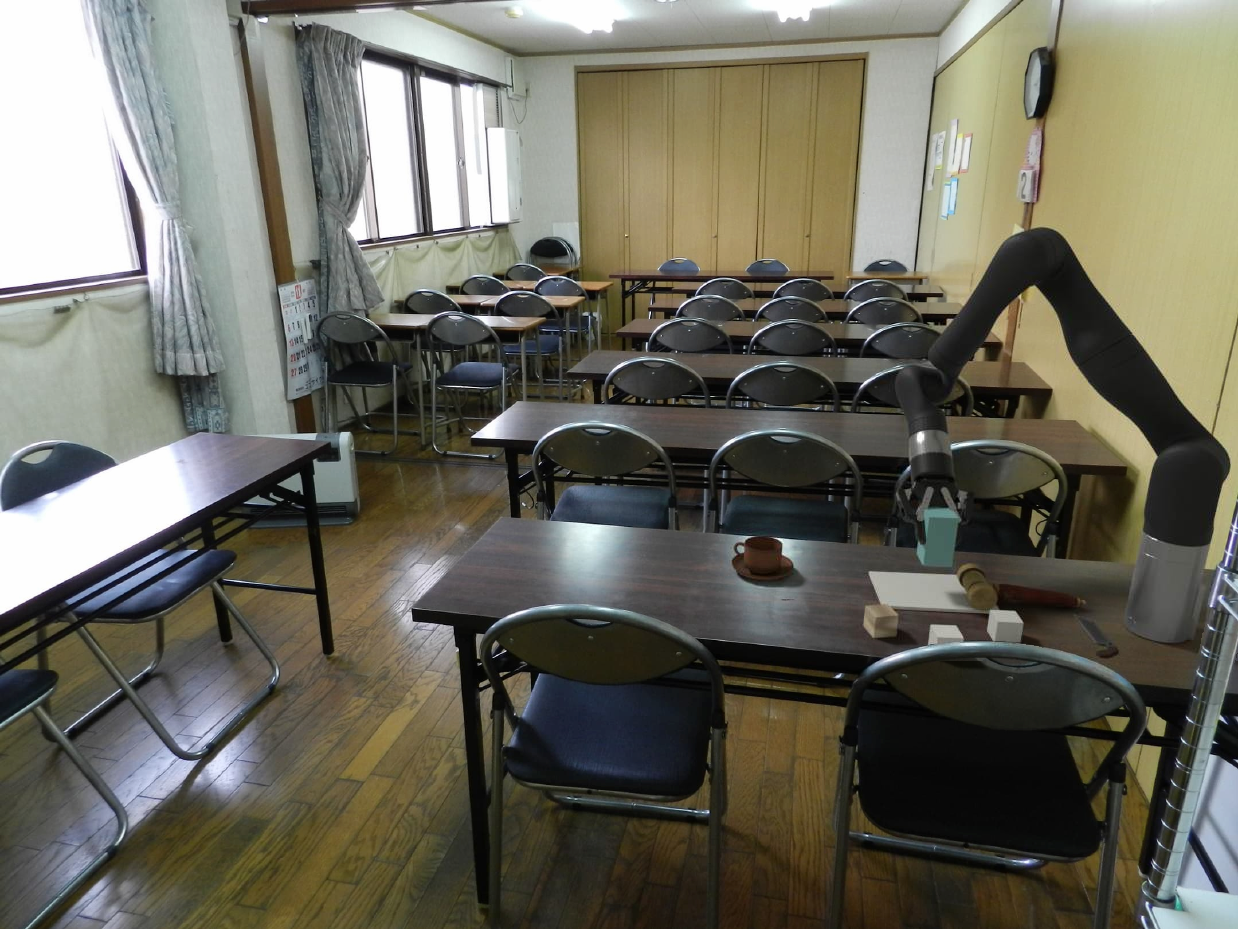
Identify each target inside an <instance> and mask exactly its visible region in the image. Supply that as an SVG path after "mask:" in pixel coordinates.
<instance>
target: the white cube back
mask: <svg viewBox="0 0 1238 929" xmlns="http://www.w3.org/2000/svg"><path fill="white" fill-rule="evenodd" d="M948 642H963V643H964V636H963V634H962V633H961V631H960V629H959V628H958V626H957V625H955V624H954V625H953V624H952V625H949V624H930V626H929V635H928V643H927V646H928V645H930V644H944V643H948Z"/></svg>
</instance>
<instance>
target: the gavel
mask: <svg viewBox="0 0 1238 929" xmlns="http://www.w3.org/2000/svg"><path fill="white" fill-rule="evenodd" d="M956 575H957V578H958V580H959V582H960V584H961V586H962V587H964V588H965V590H966V592H967V597H968V600H969V602H970V604H971V605H972V606H973V607H974V608H975V609H977V610H981V611H984V610H989V609H991V608H992V607H994V606H995V604H996V605H997V603H998V597H1001V598H1003V599H1009V600H1016V601H1022V602H1028V603H1035V604H1040V605H1041V604H1042V605H1047V606H1054V607H1059V608H1060V607H1061V608H1065V609H1066V608H1067V609H1068V608H1075V607H1078V608H1079V607H1080V606H1082V607H1085V606H1086V605H1087V601H1086V600H1084V599H1082V600H1081V598H1079V597H1077V596H1075V595H1072V594H1070V593H1067V592H1060V591H1054V590H1048V589H1041V588H1035V587H1028V586H1022V585H1015V584H1010V583H995V582H991V581H990V582H989V581H988V580H987V579H986V578H987V576H986V574H985V572H984V570H983V569H982V567H981V566H980V565H978V564H975V563H972V562H970V563H965V564H964V565H961V566H960V567H959V569H958V570H957V573H956Z"/></svg>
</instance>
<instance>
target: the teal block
mask: <svg viewBox="0 0 1238 929" xmlns="http://www.w3.org/2000/svg"><path fill="white" fill-rule="evenodd" d="M958 520H959V518H958V517H957V515H956V514H955V512H954V511H953V510H949V509H948V508H944V507H928V509H924V520H923V522H925V531H926V543H925V544H924V545H920V542H917V549H916V556H917V557H918V559H919V561H920V564H921V565H922V566H923V567H938V568H941V567H942V568H943V567H944V568H952V567H953V562H954V555H955V549H956V548H955V547H956V546H955V541H956V534H957V527H958Z"/></svg>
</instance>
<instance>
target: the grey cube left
mask: <svg viewBox="0 0 1238 929" xmlns="http://www.w3.org/2000/svg"><path fill="white" fill-rule="evenodd" d="M987 623H988V624H987V627H986V631H987V633H988V634H989V636H990V638H991V639H992V641H993V642H994V641H1006V642H1020V643H1021V641H1022V634H1023V629H1024V624H1025V623H1024V622H1023V620H1022V619H1021V617H1020V615H1019V614H1018V613H1017V612H1016V610H1003V609H1002V610H1001V609H999V610H990V614H988V622H987Z"/></svg>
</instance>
